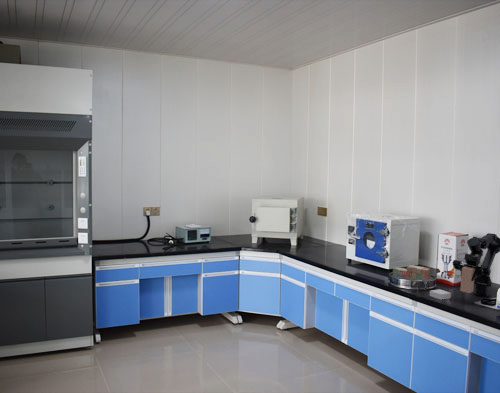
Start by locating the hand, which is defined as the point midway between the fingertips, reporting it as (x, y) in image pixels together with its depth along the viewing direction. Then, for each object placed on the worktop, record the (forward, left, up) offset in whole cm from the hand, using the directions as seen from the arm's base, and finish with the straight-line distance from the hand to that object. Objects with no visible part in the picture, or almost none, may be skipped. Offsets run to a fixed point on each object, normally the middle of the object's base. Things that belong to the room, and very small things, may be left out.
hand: (466, 279), depth 245 cm
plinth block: (+2, -15, -13) cm, 20 cm away
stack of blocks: (-1, -40, -14) cm, 43 cm away
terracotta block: (-1, -1, -7) cm, 7 cm away
